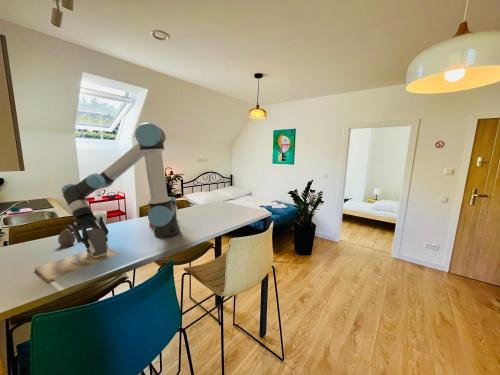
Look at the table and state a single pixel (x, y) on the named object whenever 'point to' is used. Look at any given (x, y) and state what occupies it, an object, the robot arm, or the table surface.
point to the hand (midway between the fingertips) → (100, 250)
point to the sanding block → (97, 242)
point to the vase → (66, 238)
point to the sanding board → (70, 264)
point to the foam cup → (100, 214)
